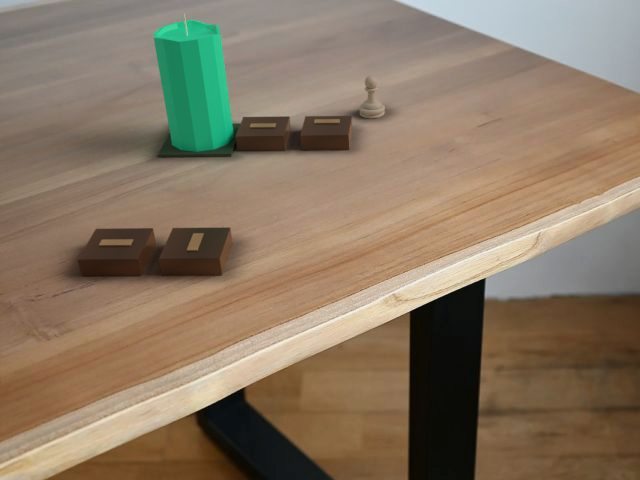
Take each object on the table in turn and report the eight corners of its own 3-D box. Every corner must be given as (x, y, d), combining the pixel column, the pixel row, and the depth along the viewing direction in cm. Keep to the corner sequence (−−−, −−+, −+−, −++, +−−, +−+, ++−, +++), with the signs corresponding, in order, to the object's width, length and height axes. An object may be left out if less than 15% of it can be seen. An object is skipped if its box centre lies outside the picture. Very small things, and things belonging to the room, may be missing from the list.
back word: (237, 151, 85) (235, 135, 84) (244, 130, 89) (243, 115, 88) (349, 150, 84) (348, 134, 84) (352, 129, 88) (351, 114, 87)
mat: (158, 157, 84) (157, 154, 84) (174, 126, 90) (174, 124, 90) (231, 156, 84) (230, 153, 84) (243, 126, 90) (243, 123, 89)
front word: (81, 276, 67) (76, 258, 67) (99, 244, 71) (95, 227, 70) (222, 275, 67) (219, 257, 66) (232, 243, 71) (230, 226, 70)
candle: (206, 156, 83) (187, 28, 77) (157, 143, 86) (134, 18, 79) (247, 132, 88) (232, 8, 81) (199, 120, 90) (180, -1, 84)
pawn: (382, 107, 93) (381, 69, 90) (387, 117, 90) (386, 79, 88) (357, 110, 92) (355, 72, 90) (361, 120, 90) (359, 82, 88)
